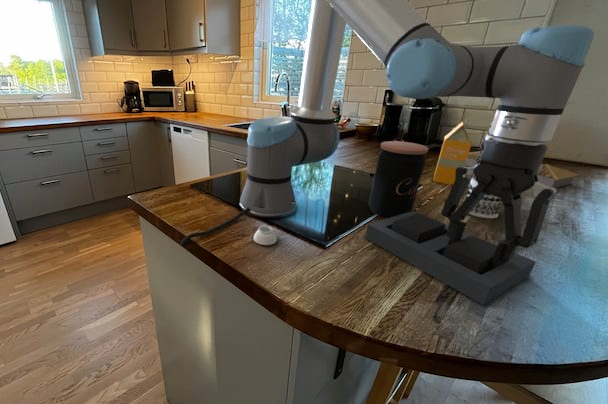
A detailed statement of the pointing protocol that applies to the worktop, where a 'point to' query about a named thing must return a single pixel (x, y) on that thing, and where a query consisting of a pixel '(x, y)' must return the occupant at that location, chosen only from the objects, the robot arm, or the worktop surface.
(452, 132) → the orange juice
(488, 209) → the decorative candle
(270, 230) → the white upturned bowl
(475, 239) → the pad
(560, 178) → the rafter model
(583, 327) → the worktop surface
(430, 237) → the pad
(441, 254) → the base pad
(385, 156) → the coffee jar
